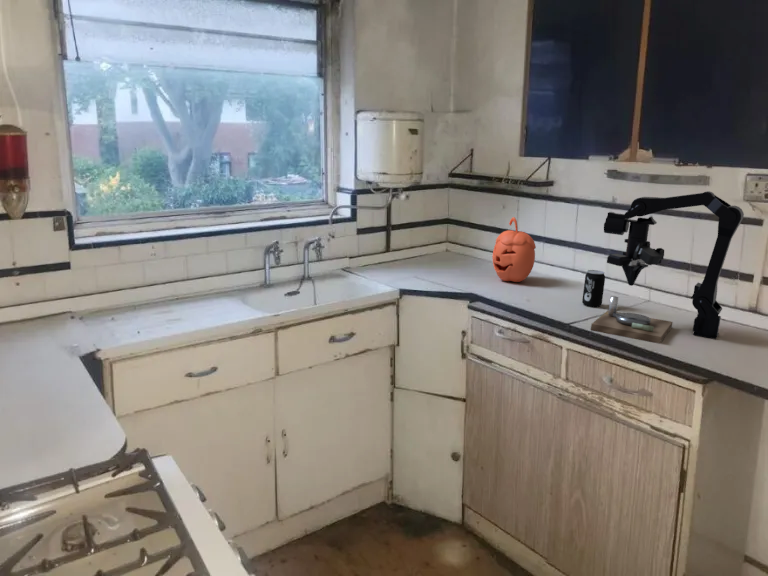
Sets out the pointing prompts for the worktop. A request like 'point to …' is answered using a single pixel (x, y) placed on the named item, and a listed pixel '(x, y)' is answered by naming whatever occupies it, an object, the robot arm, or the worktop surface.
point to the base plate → (633, 328)
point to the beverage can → (593, 288)
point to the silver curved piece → (626, 314)
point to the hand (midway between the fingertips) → (630, 285)
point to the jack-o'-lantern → (513, 254)
